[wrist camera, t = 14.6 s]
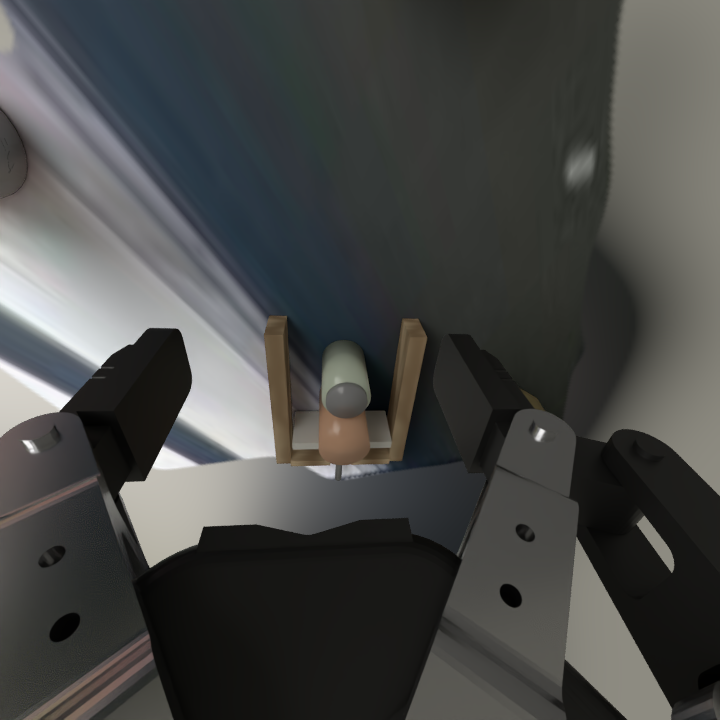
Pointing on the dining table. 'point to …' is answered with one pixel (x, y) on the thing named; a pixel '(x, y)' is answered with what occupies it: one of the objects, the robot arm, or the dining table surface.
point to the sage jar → (344, 379)
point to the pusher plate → (309, 432)
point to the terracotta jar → (342, 437)
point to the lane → (399, 405)
